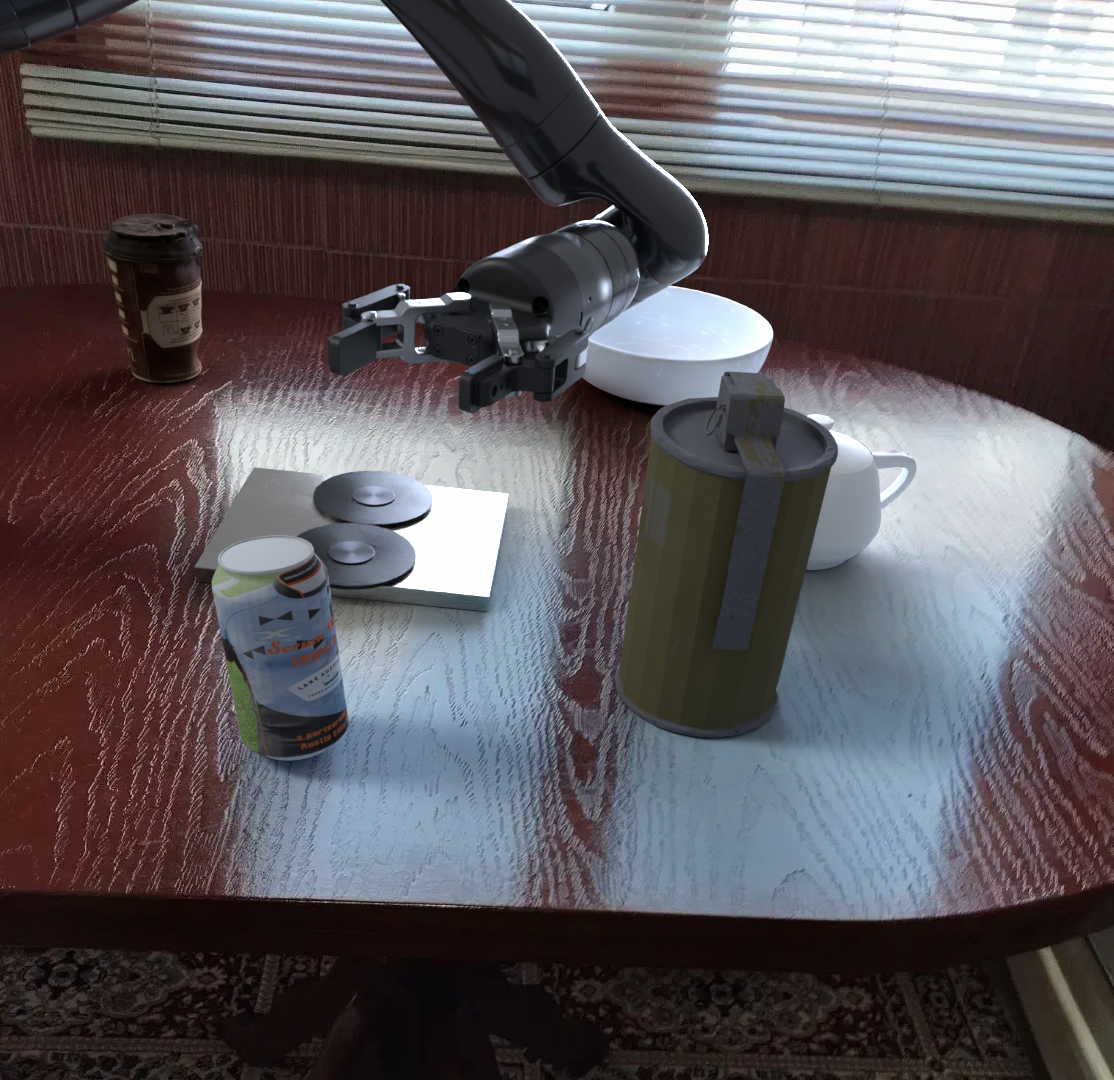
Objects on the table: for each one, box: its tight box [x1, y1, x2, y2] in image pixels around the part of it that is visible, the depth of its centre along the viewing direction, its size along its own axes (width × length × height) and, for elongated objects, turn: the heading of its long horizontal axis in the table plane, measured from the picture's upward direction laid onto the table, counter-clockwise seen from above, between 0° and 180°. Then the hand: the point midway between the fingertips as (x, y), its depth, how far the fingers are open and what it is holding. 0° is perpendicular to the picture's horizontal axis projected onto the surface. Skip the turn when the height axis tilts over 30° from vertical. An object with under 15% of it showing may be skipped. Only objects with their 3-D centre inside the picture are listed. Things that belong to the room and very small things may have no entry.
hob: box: [194, 467, 510, 613], centre depth 88 cm, size 20×18×2 cm
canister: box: [614, 371, 838, 739], centre depth 71 cm, size 11×10×20 cm
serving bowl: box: [581, 285, 774, 406], centre depth 116 cm, size 21×21×7 cm
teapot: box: [806, 413, 917, 571], centre depth 91 cm, size 20×12×10 cm, turn 108°
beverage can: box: [211, 535, 349, 762], centre depth 66 cm, size 6×7×12 cm
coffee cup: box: [101, 213, 204, 384], centre depth 107 cm, size 9×8×13 cm
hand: (398, 376), depth 67 cm, fingers open, 8 cm apart
